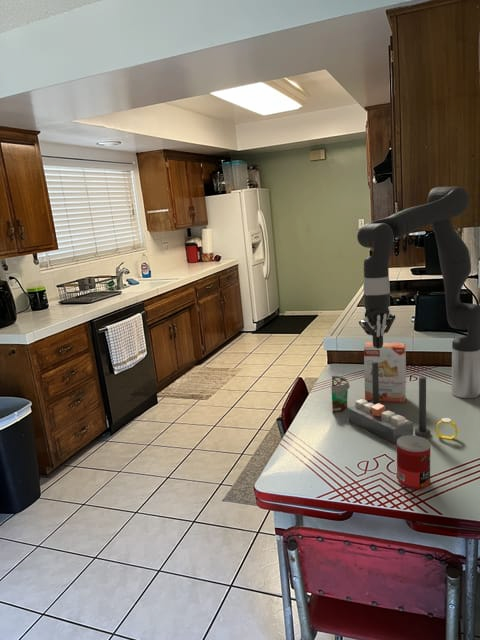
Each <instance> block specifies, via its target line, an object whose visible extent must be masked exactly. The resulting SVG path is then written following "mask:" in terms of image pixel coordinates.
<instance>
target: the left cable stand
mask: <svg viewBox="0 0 480 640" xmlns="http://www.w3.org/2000/svg"><path fill="white" fill-rule="evenodd" d="M372 386H373V401H372V403H373V404H375V405H376V404H377V403H379V404H380V401H379V379H378V362H372Z"/></svg>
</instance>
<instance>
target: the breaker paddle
mask: <svg viewBox="0 0 480 640" xmlns="http://www.w3.org/2000/svg"><path fill="white" fill-rule="evenodd" d="M371 410H372V414H374V415H376V416H378V417H379V416H380V415H381V413H382V412H385V410H386V407H385V405H384V404H381V403H380V402H379V403H377V404H376V405H374V406H372V407H371Z"/></svg>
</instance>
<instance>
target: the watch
mask: <svg viewBox="0 0 480 640" xmlns="http://www.w3.org/2000/svg"><path fill="white" fill-rule="evenodd" d="M440 424H444V425H445V424H446V425H448V424H449V425H451V426H453V428H454V429H455V434H454V435H453V436H447V435H442V433H440V431H439V429H438V427H439V425H440ZM434 430H435V433H436V435H437V436H438V437H439V438H440V439H444V440H445V439H446V440H454V439H455V438H456V437H457V436H458V433H459V432H458V431H459V428H458V426H457V424H456V423H455V422H453V420H452V419H451V418H448V417H442V418H441V420H439V421H437V423H436V425H435V429H434Z"/></svg>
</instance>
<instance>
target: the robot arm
mask: <svg viewBox="0 0 480 640" xmlns="http://www.w3.org/2000/svg"><path fill="white" fill-rule="evenodd" d="M426 201H427V202H426V203H425V204H420V205H415V206H412V207H408V208H404V209H402V210H401V211H398V212H395V213H393V214H391V215H390V216H387V217H385V218H381V219H376V220H373V221H371V222H368V223H365V224H364V225H362V227H360V228H359V230H358V231H357V236H356V237H357V242H358V244H359V245H361V246H362V247H364V248H366V249H373V250H372V255H370V256H368V257H366V258H365V259H364V260H363V306H364V309H365V313H364V318H363V319H362V320H361V319H360V320H359V321H358V324H359V326H360V327H361V328H362V330H364V332H365V334H366V335H368V336H372V342H373V346H374V348H377V349H378V348H382V346H383V343H384V335H385V333H389V331H390V329H391V327H392V325H393V324H394V321H395V319H396V315H394V314H392V313H390V309H389V308H390V306H391V284H390V276H389V273H390V272H389V269H390V268H389V261H390V258H391V253H392V249H393V245H394V239H399V238H402V237H404V236H406V235H408V234H410V233H412V232H414V231H417V230H418V229H421V228H423V227H426V226H429V225H432V229H433V232H434V236H435V240H436V246H437V251H438V258H439V260H438V261H439V266H440V272H441V275H442V279H443V280H442V281H443V286H444V294H445V295H444V296H445V308H446V319H447V322H448V325H449V327H450V328H453V329H456V330H465V331H467V335H465V336H461V337H456V338H454V339H453V340H452V342H451V343H452V344H451V395H453V396H455V397H457V398H462V399H476V398H478V397H480V304H476V303H465V302H462V301H461V296H460V295H461V290H462V288H463V286H464V284H465V283H466V282H467V280H468V278H469V276H470V275H471V271H472V263H471V256H470V250H469V248H468V246H467V245H466V243H465V241H464V240H463V239H462V237H461V236H460V235H459V234H458V232H457V231H456V230H455V228H454V226H453V224H452V220H451V218H455V217H459V216H461V215H462V214H464V213H465V212H466V210H467V209H468V208H469V204H470V195H469V191H468V190H467V189H466V188H463V187H461V186H438V187H437V186H436V187H433V188H432V189H430V191H429V193H428V196H427V200H426Z"/></svg>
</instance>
